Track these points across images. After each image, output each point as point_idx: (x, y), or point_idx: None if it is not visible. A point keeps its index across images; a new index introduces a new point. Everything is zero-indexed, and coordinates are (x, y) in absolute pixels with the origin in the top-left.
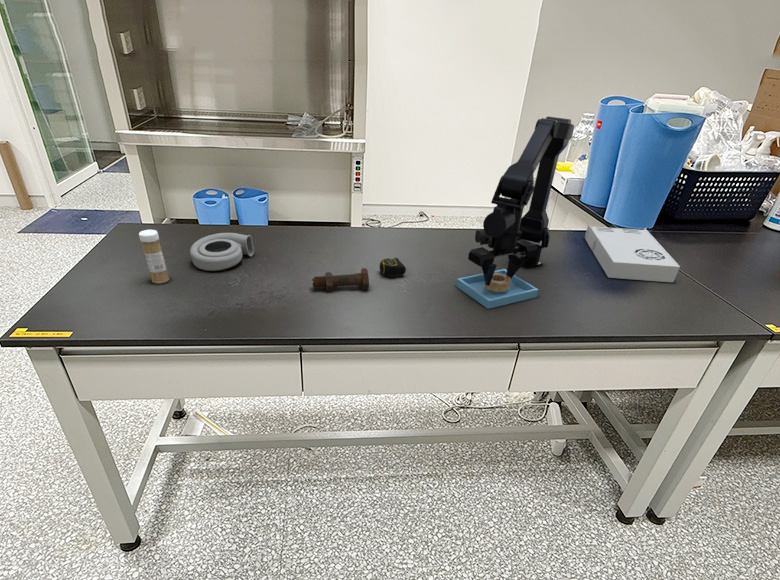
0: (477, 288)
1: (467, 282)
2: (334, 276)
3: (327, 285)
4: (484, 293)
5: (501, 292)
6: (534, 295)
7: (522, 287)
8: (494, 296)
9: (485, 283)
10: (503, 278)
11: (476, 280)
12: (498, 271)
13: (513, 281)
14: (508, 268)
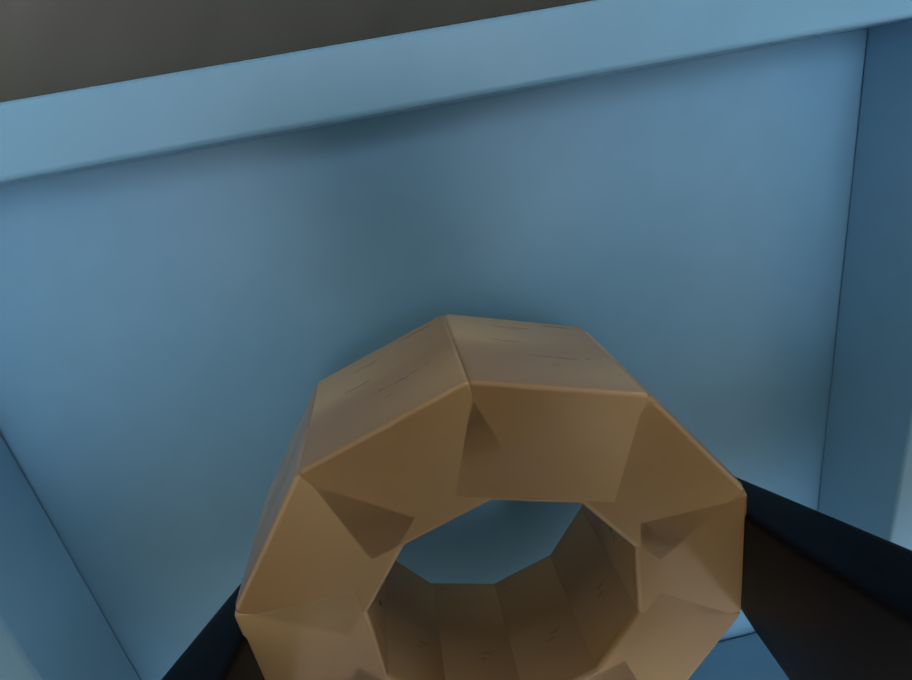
0: (195, 388)
1: (29, 181)
2: None
3: None
4: (251, 541)
5: (501, 538)
6: None
7: (828, 478)
8: None
9: (234, 602)
10: (626, 564)
11: (257, 138)
12: (837, 26)
13: (851, 310)
14: (879, 640)
